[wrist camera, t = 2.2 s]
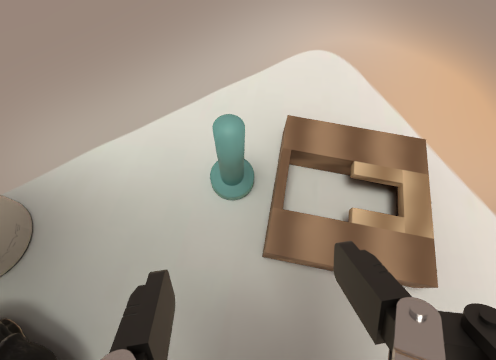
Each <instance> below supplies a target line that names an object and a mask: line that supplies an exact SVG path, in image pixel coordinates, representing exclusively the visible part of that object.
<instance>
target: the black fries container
mask: <svg viewBox="0 0 496 360" xmlns="http://www.w3.org/2000/svg"><path fill="white" fill-rule="evenodd" d="M0 360H57V358H56V356H55V355H54V354H53V353H52V352H51V351H50V350H49V349H47V348H45V347H43V346H41V345H38V344H35V343H32V342H29V341H28V340H27V338H26V337H25V336H24V334H23V333H22V330H21V328H20V327H19V326H18V325H17V324H16V323H15V322H13V321H12V320H9V319H1V320H0Z"/></svg>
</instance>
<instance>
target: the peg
mask: <svg viewBox="0 0 496 360" xmlns="http://www.w3.org/2000/svg"><path fill="white" fill-rule="evenodd" d="M213 134H214V140H215V146H216V152H217V157H218V161H217V162H216V163H215V164H214V165H213V167H212V169H211V173H210V179H211V183H212V187H213V189H214V191H215V192H216V193H217V194H218V195H219V196H220V197H222V198H224V199H227V200H237V199H241V198H243V197H245V196H246V195H247V194H248V193H249V192H250V190H251V189H252V186H253V181H254V171H253V168H252V166H251V165H250V163H249V162H248V161H247V160H245V159H244V142H245V125H244V122H243V121H242V119H241V118H239V117H238V116H236V115H232V114H226V115H222V116H220V117H218V118H217V119H216V120H215V122H214V123H213Z"/></svg>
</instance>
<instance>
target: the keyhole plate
mask: <svg viewBox="0 0 496 360" xmlns="http://www.w3.org/2000/svg"><path fill="white" fill-rule="evenodd" d="M289 164H291V165H297V166H302V167H307V168H313V169H318V170H324V171H329V172H334V173H340V174H345V175H350V178H354V179H359V180H365V181H370V182H375V183H381V184H386V185H392V186H397V210H398V216H394V215H389V214H384V213H378V212H373V211H368V210H363V209H357V208H351V209H350V210H349V219H348V222H345V221H340V220H335V219H330V218H325V217H320V216H315V215H310V214H304V213H299V212H294V211H289V210H284V209H283V202H284V196H285V189H286V182H287V175H288V169H289ZM345 241H352V242H353V243H354V244H355V245H356V246H357V247H358V248H359V250H366V251H368V252H369V253H371V254H373V255H374V256H376V258H377V259H378V260H379V261H380V262H381V263H382V265H384V266H385V268H386V269H387V270H388V272H390V273H391V274H392V275H393V276H394V277H395V279H396V280H397V281H398V282H399V283H400V284H401V285H403V286H408V287H413V288H438V281H437V269H436V257H435V245H434V233H433V221H432V209H431V197H430V186H429V174H428V162H427V150H426V140H425V139H420V138H414V137H408V136H403V135H397V134H391V133H386V132H380V131H374V130H369V129H363V128H357V127H352V126H346V125H340V124H335V123H329V122H323V121H318V120H312V119H306V118H301V117H295V116H289V115H288V116H287V120H286V124H285V127H284V131H283V137H282V143H281V148H280V154H279V160H278V166H277V172H276V178H275V184H274V190H273V196H272V202H271V208H270V214H269V220H268V226H267V232H266V238H265V244H264V250H263V256H262V257H266V258H271V259H276V260H281V261H286V262H291V263H296V264H301V265H305V266H310V267H315V268H320V269H325V270H330V271H334V269H333V266H334V246H335V243H339V242H345Z"/></svg>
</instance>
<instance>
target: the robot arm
mask: <svg viewBox="0 0 496 360" xmlns="http://www.w3.org/2000/svg"><path fill="white" fill-rule="evenodd" d="M31 233H32V221H31V217H30V214H29V213H28V211H27V209H26V208H25V207H24V206H23V205H21V204H20V203H18V202H16V201H14V200H12V199H9V198H7V197H4V196H2V195H0V276H1V275H3V274H5V273H6V272H7V271H8V270H9V269H10V268H12V267H13V266H14V265H15V264H16V262H17V261H18V260H19V259H20V258H21V256H22V255H23V253H24V252H25V250H26V248H27V246H28V244H29V241H30V238H31ZM333 269H334V275H335V278H336V280H337V282H338V284H339V285H340V287H341V289H342V290H343V292H344V294H345V295H346V297H347V299H348V300H349V302H350V304H351V305H352V307H353V309H354V310H355V312H356V313H357V315H358V317H359V318H360V320H361V322H362V323H363V325H364V327H365V328H366V330H367V332H368V333H369V335H370V337H371V338H372V340H373V342H374V343H375V345H376V344H381V343H386V345H387V346H388V348H389V353H388V360H496V309H495V308H492V307H490V306H487V305H483V304H476V303H475V304H469V305H467V306H466V307H465V308H464V311H463V314H462V313H452V312H443V311H437V310H436V309H435V308H434V307H433V306H432V305H430V304H429V303H427V302H426V301H423V300H421V299H418V298H414V297H412V296H411V295H410V294H409V293H408V292H407V291H406V290H405V289H404V287H403V286H402V285H401V284H400V283H399V282H398V281H397V280H396V279H395V277H394V276H393V275H392V274H391V273H390V272H388V270H387V269H386V268H385V266H384V265H382V263H381V262H380V261H379V260H378V259H377V258H376V256H374V255H373V254H371V253H369V252H368V251H366V250H359V248H358V247H357V246H356V245H355V244H354V243H353V242H352V241H345V242H339V243H335V246H334V266H333ZM126 307H127V308H126V309H125V312H124V314H123V317H122V320H121V323H120V325H119V328H118V331H117V333H116V336H115V339H114V342H113V344H112V347H111V350H110V352H109V354H107V355H106V356H105V357H103V358H102V359H101V360H167V356H168V350H169V344H170V337H171V331H172V324H173V318H174V312H175V295H174V291H173V287H172V284H171V280H170V276H169V272H168V270H161V271H154V272H150V273H149V275H148V279H147V282H146V285H141V286H138V287H137V288H136V289H135V291H134V292H133V293H132V294H131V296H130V298H129V301H128V303H127V306H126Z"/></svg>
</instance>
